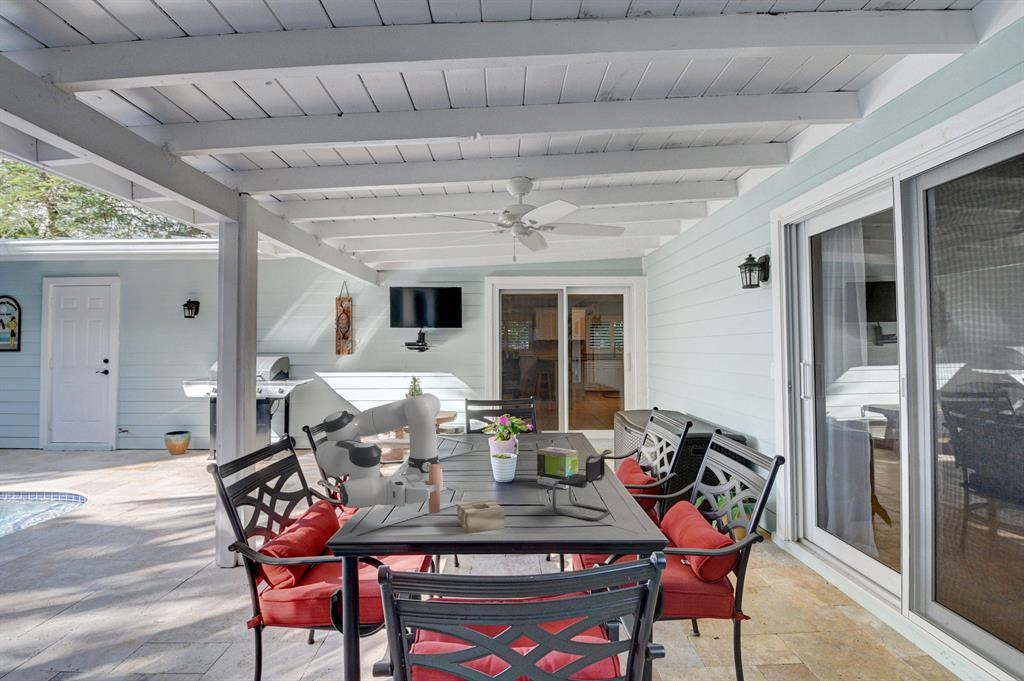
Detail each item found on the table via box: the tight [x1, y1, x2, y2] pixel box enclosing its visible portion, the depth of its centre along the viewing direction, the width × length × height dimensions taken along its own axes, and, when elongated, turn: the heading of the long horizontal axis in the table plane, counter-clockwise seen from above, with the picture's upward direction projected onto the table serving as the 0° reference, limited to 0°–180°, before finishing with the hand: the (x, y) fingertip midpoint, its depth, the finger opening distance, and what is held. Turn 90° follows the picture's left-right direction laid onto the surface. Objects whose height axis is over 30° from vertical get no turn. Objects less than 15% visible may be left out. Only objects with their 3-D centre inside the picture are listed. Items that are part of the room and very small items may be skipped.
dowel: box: [428, 464, 441, 514], centre depth 168 cm, size 4×4×15 cm
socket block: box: [456, 499, 505, 534], centre depth 168 cm, size 12×12×6 cm
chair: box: [552, 449, 613, 522], centre depth 181 cm, size 13×17×22 cm
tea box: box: [536, 446, 579, 490], centre depth 219 cm, size 15×10×15 cm, turn 49°
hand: (437, 484), depth 169 cm, fingers closed on dowel, 4 cm apart
